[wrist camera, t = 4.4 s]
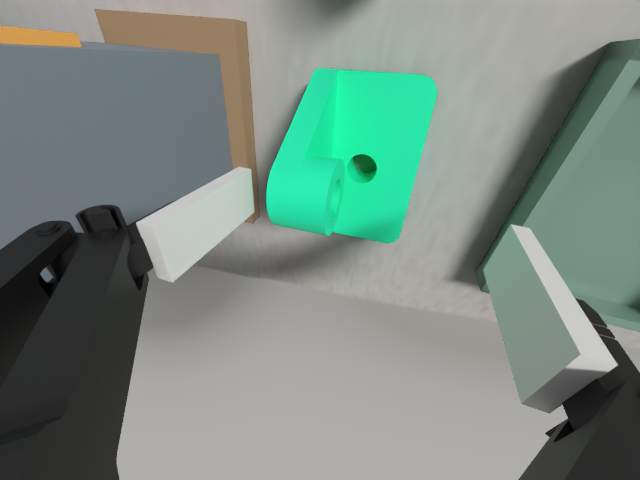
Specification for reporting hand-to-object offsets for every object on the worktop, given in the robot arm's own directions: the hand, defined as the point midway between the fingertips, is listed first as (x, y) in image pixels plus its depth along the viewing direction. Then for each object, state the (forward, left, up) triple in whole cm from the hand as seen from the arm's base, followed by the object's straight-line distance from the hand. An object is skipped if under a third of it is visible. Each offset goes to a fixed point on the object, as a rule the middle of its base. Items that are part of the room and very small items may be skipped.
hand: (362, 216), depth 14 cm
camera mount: (-1, 0, -10) cm, 10 cm away
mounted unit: (-17, 0, -9) cm, 20 cm away
